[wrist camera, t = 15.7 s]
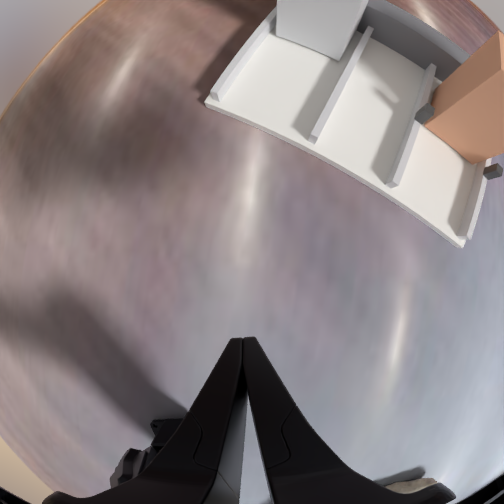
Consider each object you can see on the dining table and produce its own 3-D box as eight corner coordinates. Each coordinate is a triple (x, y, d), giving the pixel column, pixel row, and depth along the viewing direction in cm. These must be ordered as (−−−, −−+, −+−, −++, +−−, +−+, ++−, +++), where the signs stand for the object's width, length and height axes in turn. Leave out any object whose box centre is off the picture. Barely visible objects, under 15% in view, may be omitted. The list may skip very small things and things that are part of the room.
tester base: (456, 247, 21) (491, 249, 16) (206, 107, 21) (192, 77, 16) (489, 112, 20) (514, 97, 15) (290, -3, 20) (293, -35, 15)
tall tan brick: (472, 164, 19) (555, 133, 8) (424, 126, 19) (501, 69, 8) (479, 125, 19) (550, 87, 8) (434, 89, 19) (498, 30, 8)
